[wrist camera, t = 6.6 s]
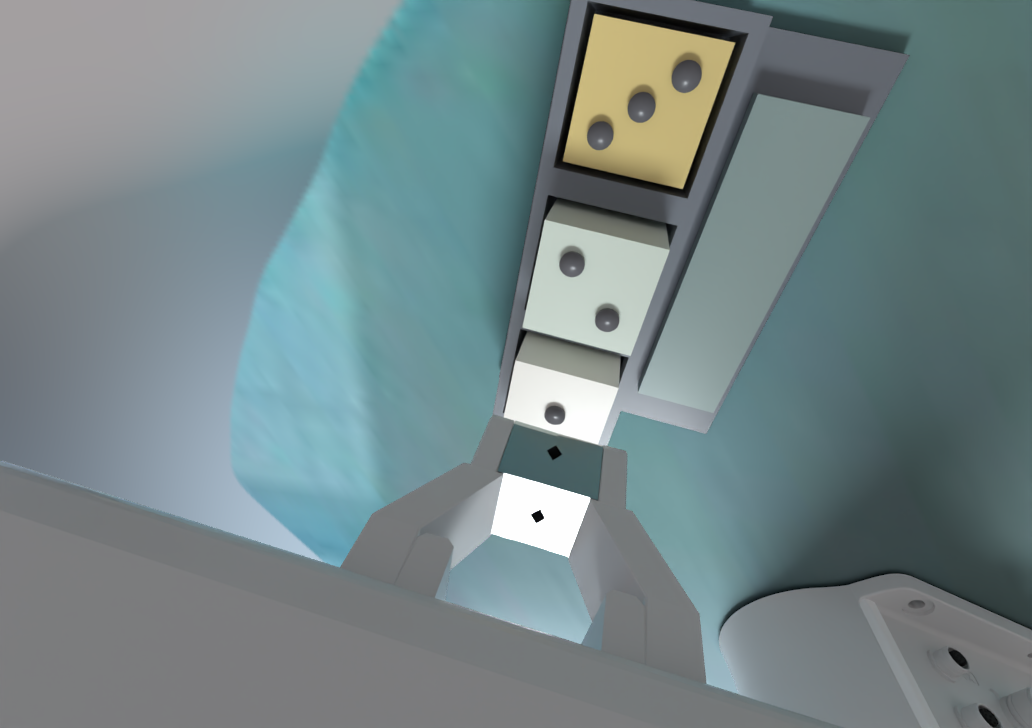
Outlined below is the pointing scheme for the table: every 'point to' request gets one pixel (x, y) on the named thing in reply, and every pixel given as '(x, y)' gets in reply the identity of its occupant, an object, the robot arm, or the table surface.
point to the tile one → (563, 387)
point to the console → (714, 197)
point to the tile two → (595, 275)
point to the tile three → (644, 99)
